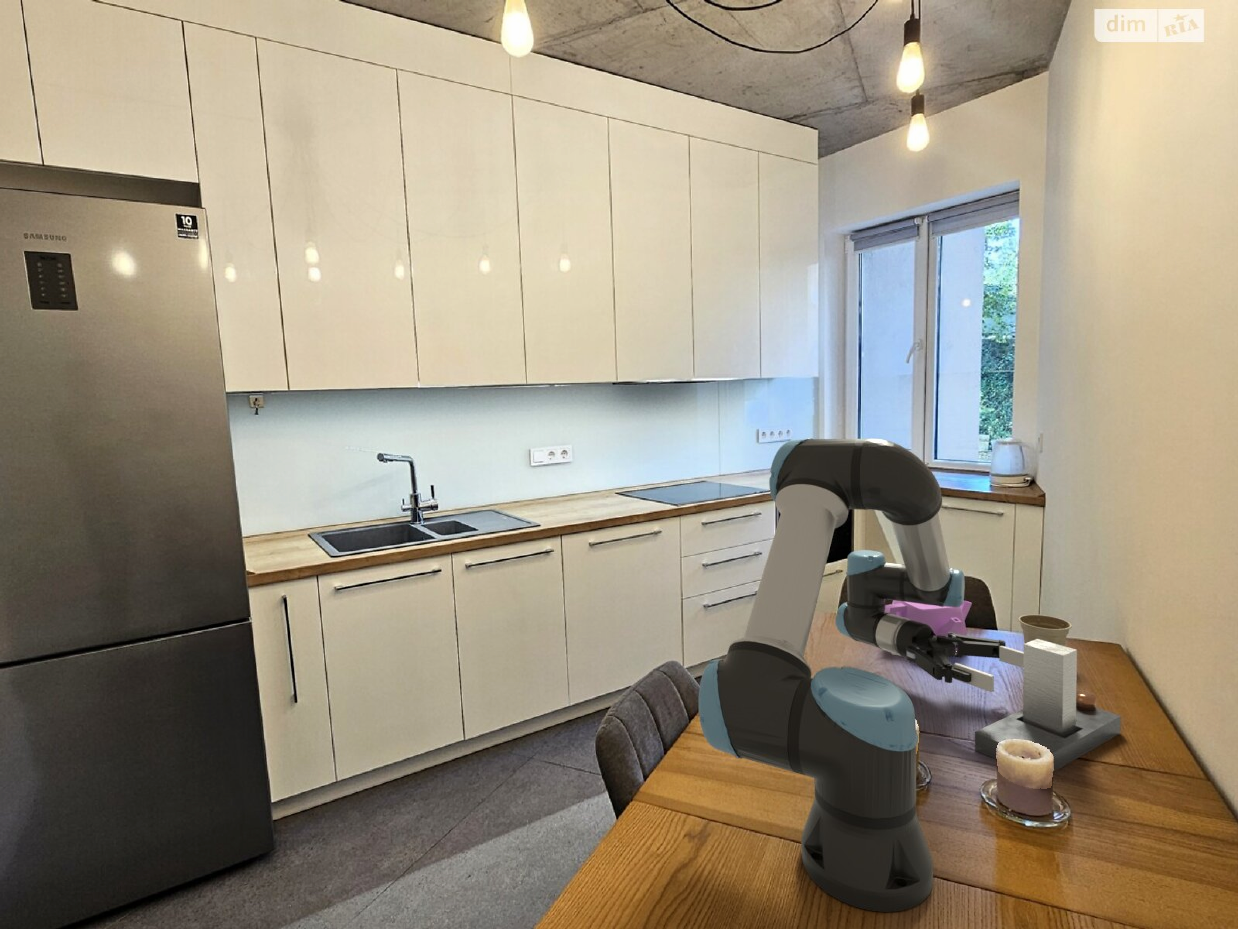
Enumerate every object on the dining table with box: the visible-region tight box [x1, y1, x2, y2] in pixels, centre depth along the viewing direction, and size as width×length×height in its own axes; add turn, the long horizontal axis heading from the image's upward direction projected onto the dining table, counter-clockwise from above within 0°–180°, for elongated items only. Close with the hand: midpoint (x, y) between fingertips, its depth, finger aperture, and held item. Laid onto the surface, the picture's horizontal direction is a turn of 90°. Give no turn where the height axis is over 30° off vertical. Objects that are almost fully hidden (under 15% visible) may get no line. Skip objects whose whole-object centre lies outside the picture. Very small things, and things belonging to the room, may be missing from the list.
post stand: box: [974, 690, 1122, 772], centre depth 105 cm, size 25×10×5 cm, turn 119°
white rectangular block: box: [1022, 639, 1078, 738], centre depth 105 cm, size 4×6×16 cm, turn 29°
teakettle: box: [885, 600, 973, 651], centre depth 148 cm, size 17×17×12 cm
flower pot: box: [1017, 614, 1073, 647], centre depth 136 cm, size 9×9×9 cm
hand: (1016, 674), depth 110 cm, fingers open, 13 cm apart
